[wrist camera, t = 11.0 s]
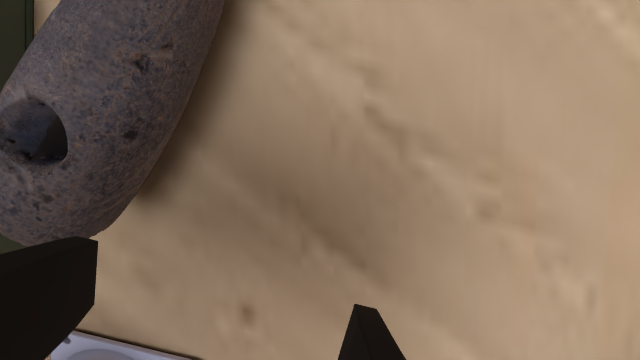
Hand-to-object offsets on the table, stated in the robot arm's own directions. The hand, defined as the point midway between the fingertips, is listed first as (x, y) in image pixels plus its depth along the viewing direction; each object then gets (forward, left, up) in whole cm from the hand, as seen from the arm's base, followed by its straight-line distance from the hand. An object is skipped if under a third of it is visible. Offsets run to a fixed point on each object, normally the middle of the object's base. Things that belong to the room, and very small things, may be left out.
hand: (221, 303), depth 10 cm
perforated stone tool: (+7, -5, -10) cm, 13 cm away
